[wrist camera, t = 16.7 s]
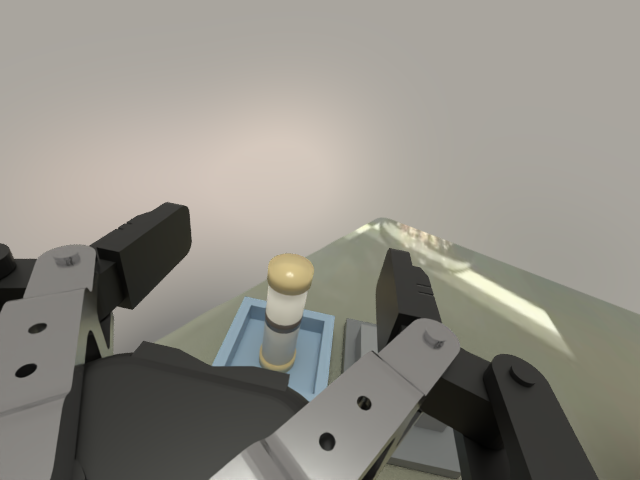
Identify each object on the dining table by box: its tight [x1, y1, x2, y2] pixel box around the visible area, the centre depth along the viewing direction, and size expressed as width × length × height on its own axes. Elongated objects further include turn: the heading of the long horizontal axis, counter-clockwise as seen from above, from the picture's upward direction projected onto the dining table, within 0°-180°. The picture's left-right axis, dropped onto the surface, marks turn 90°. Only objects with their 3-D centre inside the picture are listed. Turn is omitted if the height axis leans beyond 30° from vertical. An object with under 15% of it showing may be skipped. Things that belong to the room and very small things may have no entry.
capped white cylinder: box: [259, 254, 314, 373], centre depth 31 cm, size 4×4×14 cm
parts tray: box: [212, 297, 335, 402], centre depth 35 cm, size 12×12×4 cm
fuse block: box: [341, 318, 461, 479], centre depth 34 cm, size 12×16×4 cm
